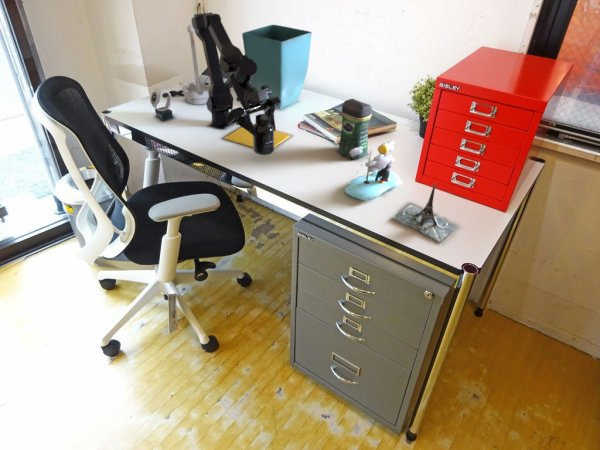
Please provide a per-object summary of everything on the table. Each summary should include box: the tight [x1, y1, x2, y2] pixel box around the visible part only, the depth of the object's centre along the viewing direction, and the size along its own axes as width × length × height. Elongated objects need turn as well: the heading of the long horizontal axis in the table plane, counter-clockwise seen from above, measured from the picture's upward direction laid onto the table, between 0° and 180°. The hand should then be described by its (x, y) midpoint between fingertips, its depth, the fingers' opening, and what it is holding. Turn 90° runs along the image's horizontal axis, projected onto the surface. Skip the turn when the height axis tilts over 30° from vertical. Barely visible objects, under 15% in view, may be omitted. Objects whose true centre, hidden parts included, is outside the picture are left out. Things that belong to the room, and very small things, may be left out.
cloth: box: [224, 124, 291, 148], centre depth 161 cm, size 19×15×1 cm
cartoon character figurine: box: [344, 140, 403, 201], centre depth 130 cm, size 20×11×15 cm, turn 126°
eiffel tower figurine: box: [392, 181, 458, 243], centre depth 117 cm, size 15×10×13 cm
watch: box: [149, 88, 174, 122], centre depth 170 cm, size 6×8×11 cm
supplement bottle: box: [252, 113, 275, 156], centre depth 142 cm, size 7×7×12 cm
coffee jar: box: [338, 98, 373, 160], centre depth 147 cm, size 10×8×19 cm
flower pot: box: [241, 24, 313, 110], centre depth 180 cm, size 20×20×28 cm
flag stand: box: [181, 24, 211, 105], centre depth 180 cm, size 13×13×30 cm
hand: (266, 134), depth 141 cm, fingers closed on supplement bottle, 7 cm apart
